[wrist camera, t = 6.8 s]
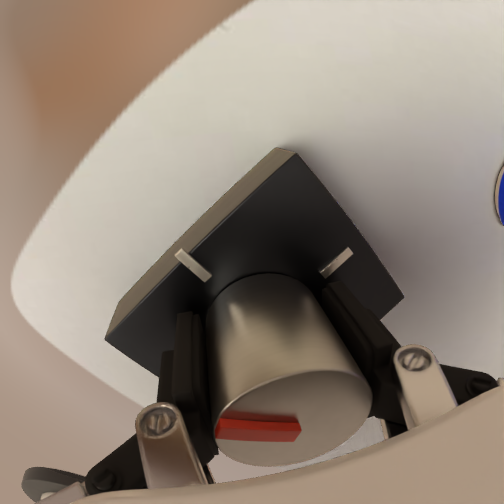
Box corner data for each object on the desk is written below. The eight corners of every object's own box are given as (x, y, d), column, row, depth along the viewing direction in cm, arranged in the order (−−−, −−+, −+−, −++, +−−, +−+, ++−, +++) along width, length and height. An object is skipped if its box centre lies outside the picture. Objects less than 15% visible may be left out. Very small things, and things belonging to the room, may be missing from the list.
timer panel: (237, 386, 17) (245, 428, 14) (113, 298, 14) (96, 337, 11) (377, 272, 16) (409, 302, 13) (270, 141, 12) (291, 145, 9)
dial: (335, 285, 12) (407, 379, 7) (294, 371, 13) (332, 471, 8) (222, 260, 11) (241, 369, 6) (194, 358, 12) (198, 472, 7)
